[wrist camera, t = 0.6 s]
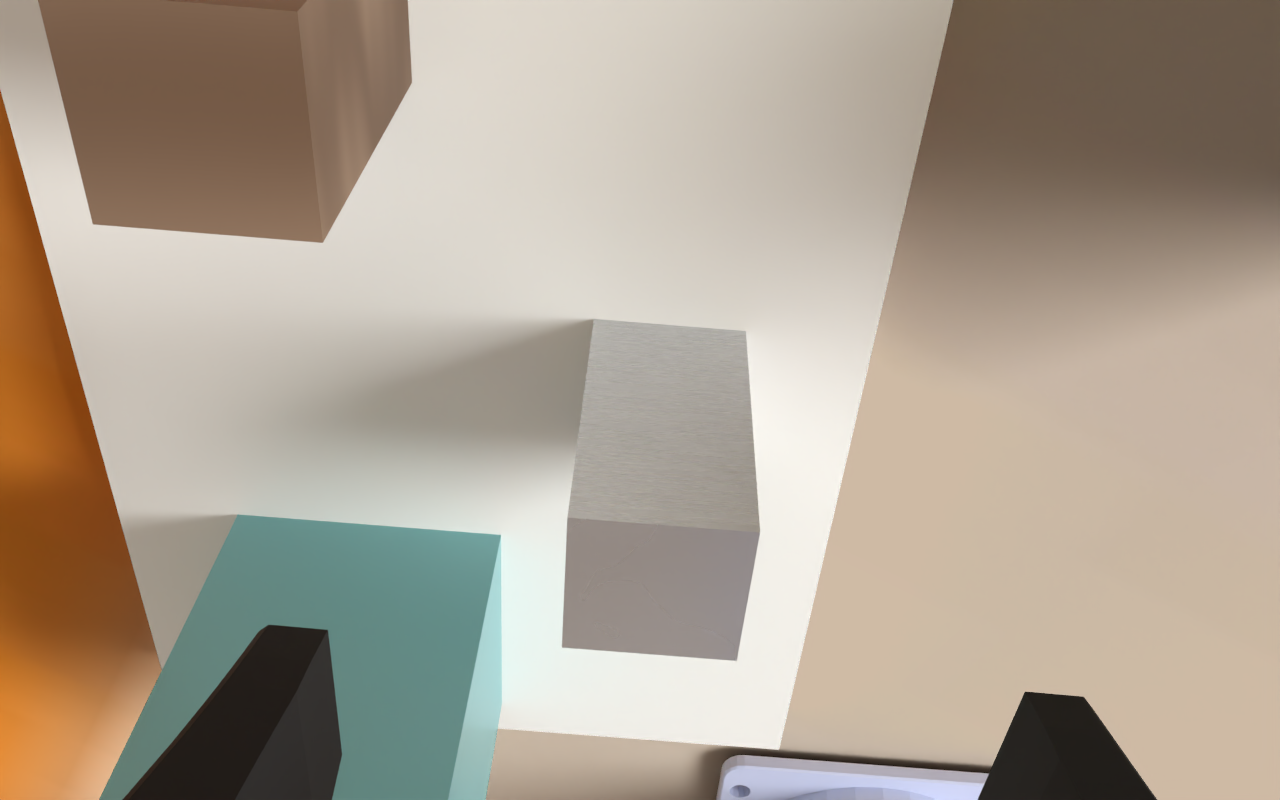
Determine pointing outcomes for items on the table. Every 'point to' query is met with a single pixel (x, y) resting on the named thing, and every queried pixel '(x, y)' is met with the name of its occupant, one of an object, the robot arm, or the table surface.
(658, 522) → the steel post
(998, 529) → the table surface
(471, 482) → the post board
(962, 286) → the table surface
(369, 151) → the walnut post
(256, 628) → the teal rectangular block
